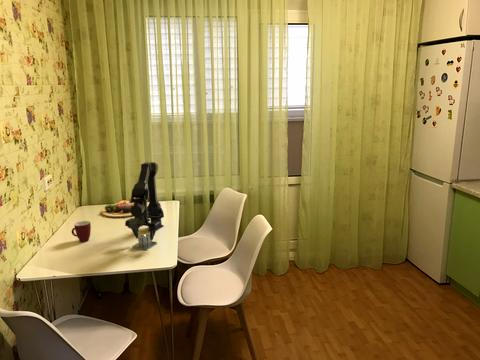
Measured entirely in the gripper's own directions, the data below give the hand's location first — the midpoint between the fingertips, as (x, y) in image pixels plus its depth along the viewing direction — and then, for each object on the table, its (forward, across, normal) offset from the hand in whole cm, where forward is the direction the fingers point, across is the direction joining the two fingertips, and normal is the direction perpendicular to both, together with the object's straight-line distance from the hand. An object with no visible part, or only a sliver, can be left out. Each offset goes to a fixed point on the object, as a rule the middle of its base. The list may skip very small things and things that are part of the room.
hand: (144, 239), depth 204 cm
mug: (+4, -37, -6) cm, 38 cm away
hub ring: (+2, 0, 0) cm, 3 cm away
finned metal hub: (+4, 0, 0) cm, 4 cm away
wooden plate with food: (+4, -50, +47) cm, 69 cm away
